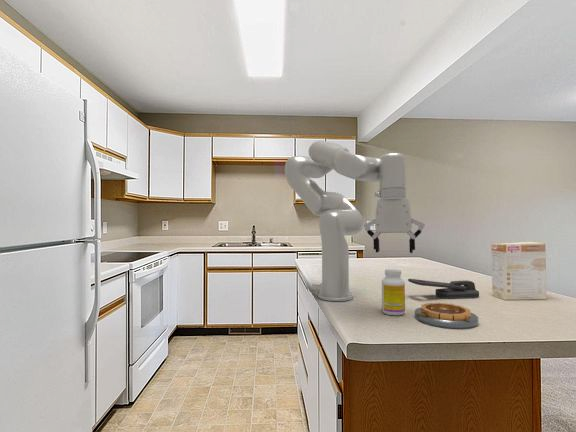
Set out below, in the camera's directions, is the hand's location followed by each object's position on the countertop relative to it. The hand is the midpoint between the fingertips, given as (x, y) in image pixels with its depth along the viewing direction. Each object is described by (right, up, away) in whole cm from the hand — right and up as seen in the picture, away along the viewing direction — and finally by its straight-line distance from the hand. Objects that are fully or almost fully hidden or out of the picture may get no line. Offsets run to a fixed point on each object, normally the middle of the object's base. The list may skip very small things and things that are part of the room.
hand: (394, 252), depth 97 cm
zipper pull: (+24, -19, +20) cm, 36 cm away
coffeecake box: (+50, -18, +18) cm, 56 cm away
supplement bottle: (0, -18, 0) cm, 18 cm away
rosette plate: (+12, -18, -6) cm, 23 cm away
